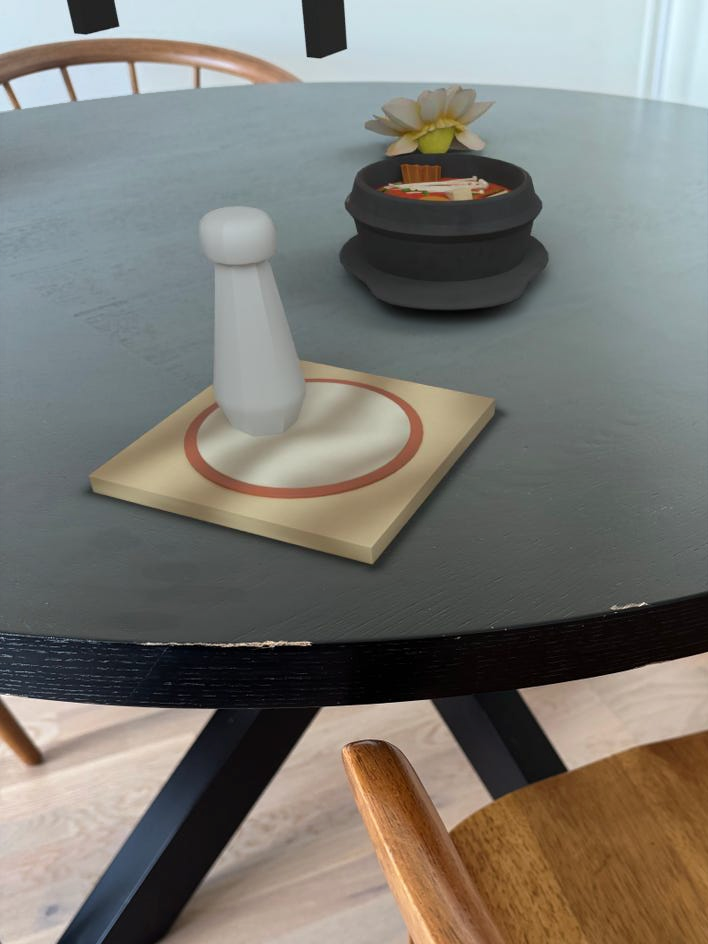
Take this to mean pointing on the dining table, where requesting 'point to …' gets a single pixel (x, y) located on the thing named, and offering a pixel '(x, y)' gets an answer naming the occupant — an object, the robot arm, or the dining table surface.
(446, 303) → the casserole
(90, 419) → the dining table surface
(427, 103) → the decorative flower
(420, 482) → the board
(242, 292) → the salt shaker
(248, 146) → the dining table surface
